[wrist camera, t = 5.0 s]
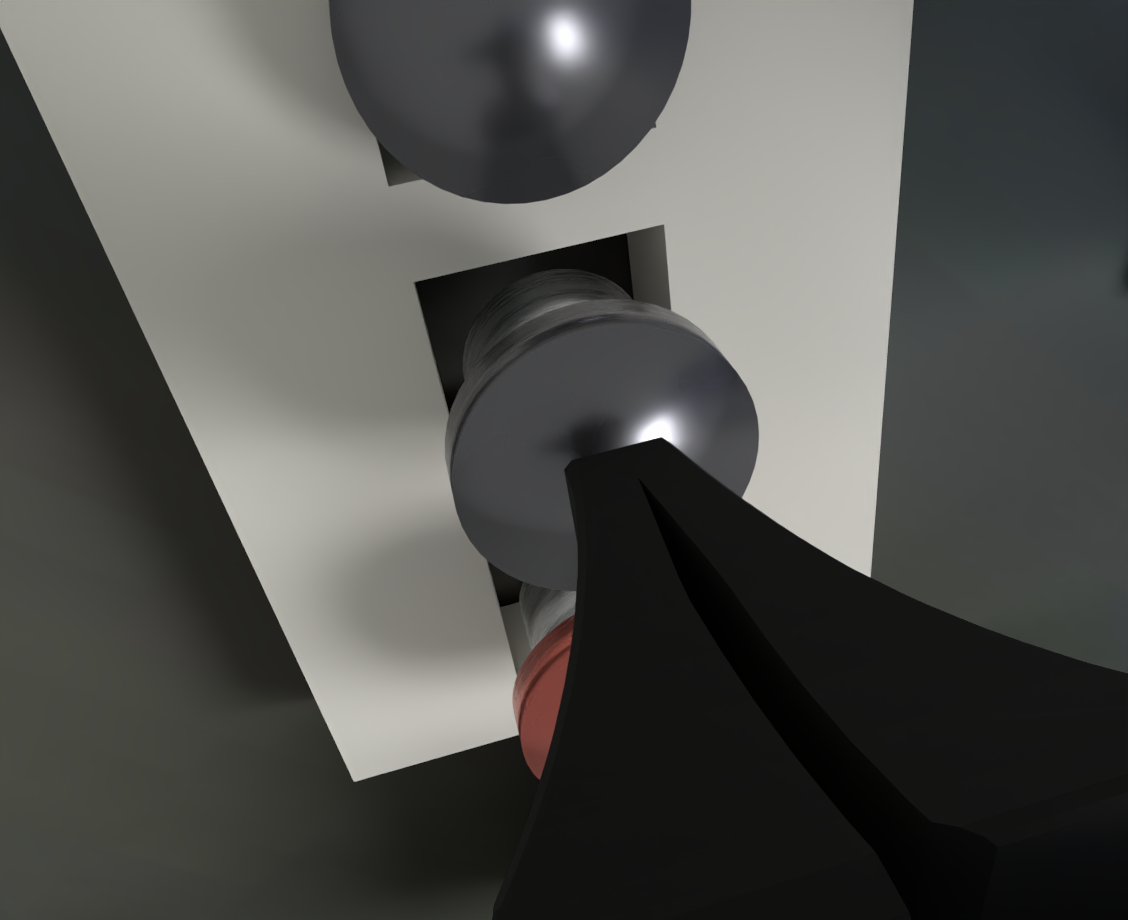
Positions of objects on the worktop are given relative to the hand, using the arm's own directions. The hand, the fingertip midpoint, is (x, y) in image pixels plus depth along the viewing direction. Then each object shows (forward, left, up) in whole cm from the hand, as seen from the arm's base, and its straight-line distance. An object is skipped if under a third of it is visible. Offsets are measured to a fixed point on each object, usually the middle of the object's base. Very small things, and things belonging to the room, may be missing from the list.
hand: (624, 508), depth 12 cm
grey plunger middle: (0, 0, -4) cm, 4 cm away
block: (0, 0, -6) cm, 7 cm away
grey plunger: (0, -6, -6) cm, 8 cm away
